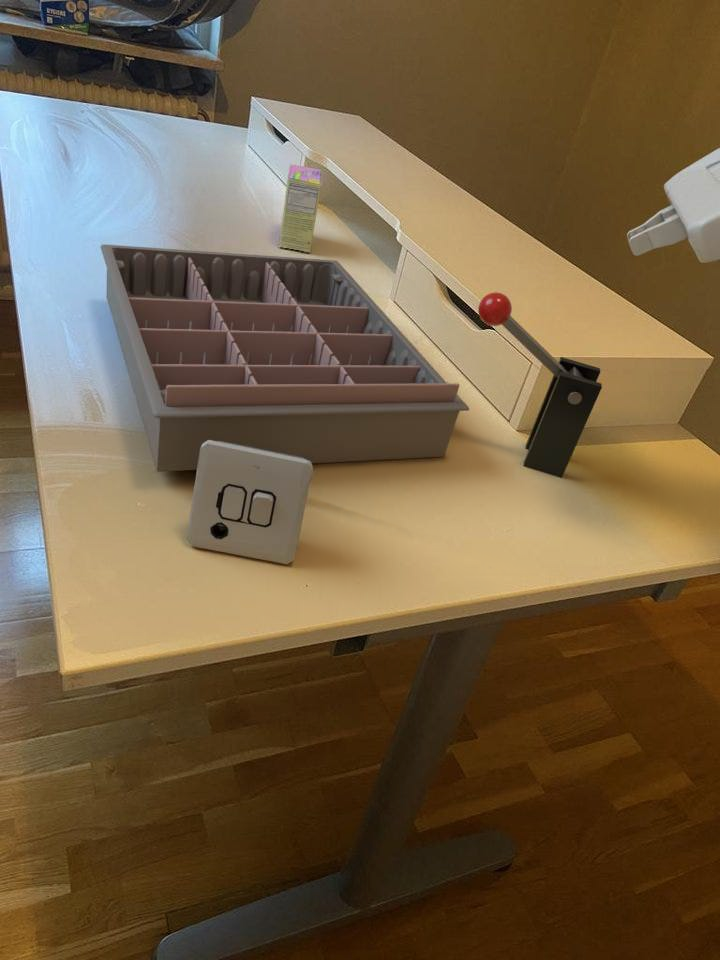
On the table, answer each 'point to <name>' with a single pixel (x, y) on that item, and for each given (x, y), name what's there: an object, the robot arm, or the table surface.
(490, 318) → the switch lever
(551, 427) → the switch bracket
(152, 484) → the table surface
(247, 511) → the electrical switch
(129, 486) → the table surface
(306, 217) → the box
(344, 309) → the organizer tray
